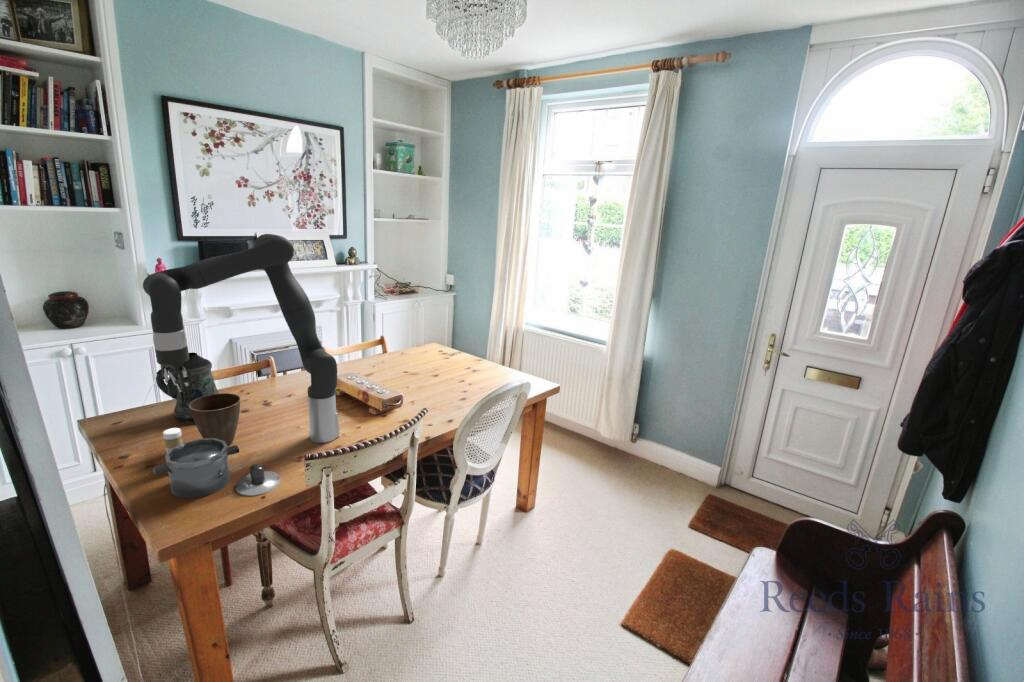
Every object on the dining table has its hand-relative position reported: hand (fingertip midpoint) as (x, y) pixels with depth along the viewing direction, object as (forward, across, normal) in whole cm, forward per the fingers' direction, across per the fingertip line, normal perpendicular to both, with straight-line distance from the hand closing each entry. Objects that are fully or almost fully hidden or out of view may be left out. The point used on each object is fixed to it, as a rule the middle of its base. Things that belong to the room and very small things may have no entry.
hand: (179, 398), depth 136 cm
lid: (+27, -17, -11) cm, 34 cm away
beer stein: (+27, +44, -18) cm, 55 cm away
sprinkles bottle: (+27, +9, +1) cm, 29 cm away
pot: (+27, -4, -1) cm, 27 cm away
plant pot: (+27, +16, -15) cm, 35 cm away
